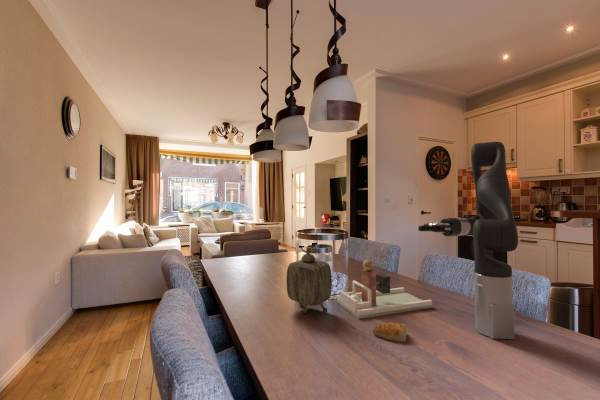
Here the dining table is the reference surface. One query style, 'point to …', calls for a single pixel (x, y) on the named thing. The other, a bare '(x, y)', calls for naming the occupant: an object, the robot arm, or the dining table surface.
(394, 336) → the pastry
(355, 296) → the ball
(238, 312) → the dining table surface
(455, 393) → the dining table surface
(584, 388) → the dining table surface
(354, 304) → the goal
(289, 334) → the dining table surface
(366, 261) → the striker
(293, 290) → the tabletop clock
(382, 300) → the pitch
